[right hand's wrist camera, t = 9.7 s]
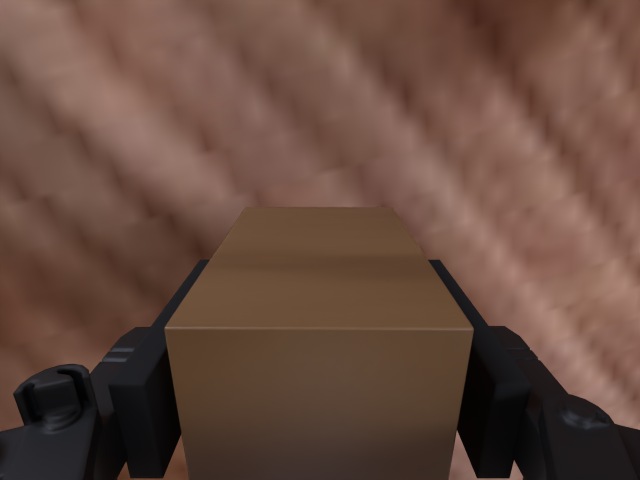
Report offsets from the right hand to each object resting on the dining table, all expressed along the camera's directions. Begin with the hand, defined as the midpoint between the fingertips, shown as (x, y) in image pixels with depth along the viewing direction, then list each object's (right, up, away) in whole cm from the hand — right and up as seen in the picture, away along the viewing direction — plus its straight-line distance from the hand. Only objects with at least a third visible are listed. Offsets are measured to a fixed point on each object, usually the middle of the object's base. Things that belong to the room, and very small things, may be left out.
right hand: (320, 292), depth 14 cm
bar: (0, -8, +4) cm, 9 cm away
